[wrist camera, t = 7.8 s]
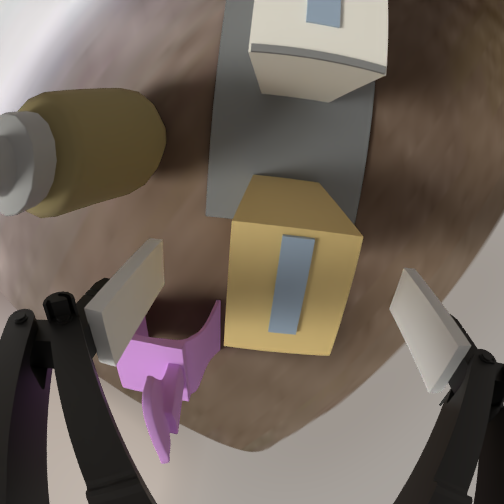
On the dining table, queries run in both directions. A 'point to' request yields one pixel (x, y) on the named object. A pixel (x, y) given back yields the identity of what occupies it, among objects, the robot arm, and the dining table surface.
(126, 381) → the pink scoop
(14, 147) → the squeeze bottle
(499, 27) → the dining table surface
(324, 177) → the mat
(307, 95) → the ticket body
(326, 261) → the stub
